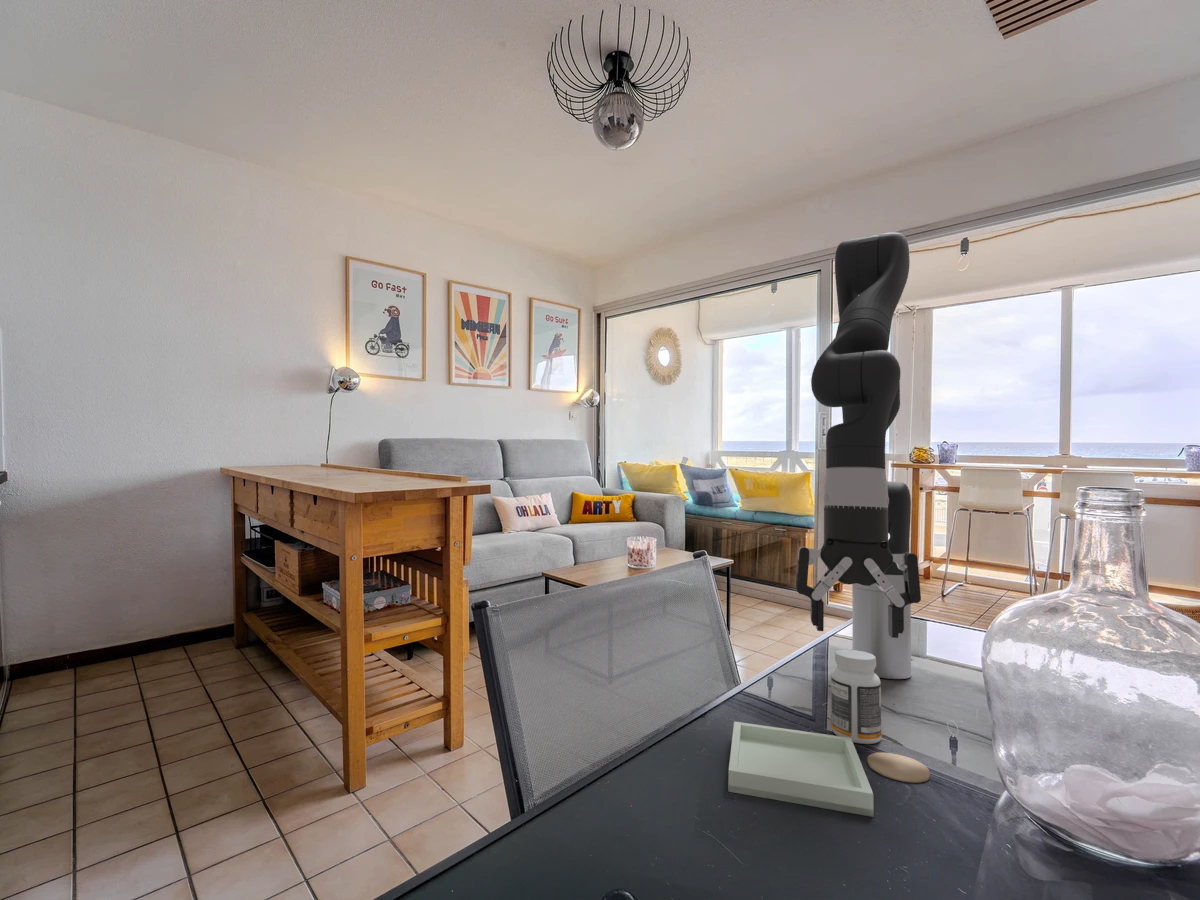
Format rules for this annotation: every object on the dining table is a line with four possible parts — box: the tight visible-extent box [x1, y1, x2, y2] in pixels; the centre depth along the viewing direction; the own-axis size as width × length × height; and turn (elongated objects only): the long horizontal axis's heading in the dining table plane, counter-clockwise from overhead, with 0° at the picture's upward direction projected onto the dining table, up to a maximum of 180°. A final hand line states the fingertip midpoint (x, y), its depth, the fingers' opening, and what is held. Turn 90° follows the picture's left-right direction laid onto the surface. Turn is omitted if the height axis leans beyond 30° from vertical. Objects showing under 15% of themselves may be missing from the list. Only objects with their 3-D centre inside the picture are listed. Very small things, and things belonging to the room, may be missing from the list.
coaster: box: [867, 752, 931, 784], centre depth 61 cm, size 6×6×1 cm
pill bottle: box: [830, 649, 883, 745], centre depth 70 cm, size 6×6×10 cm
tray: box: [727, 721, 875, 818], centre depth 59 cm, size 13×13×2 cm
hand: (855, 633), depth 70 cm, fingers open, 8 cm apart
